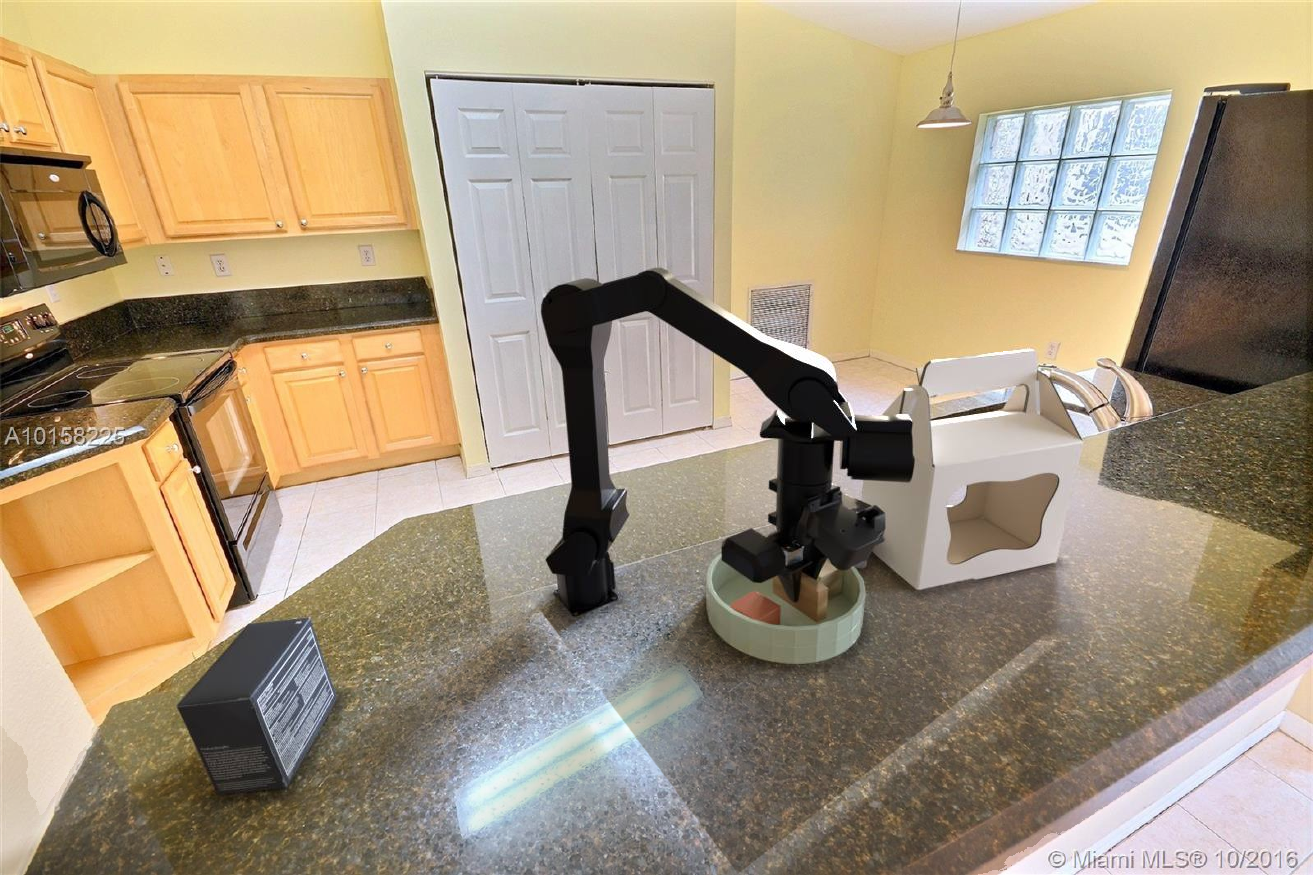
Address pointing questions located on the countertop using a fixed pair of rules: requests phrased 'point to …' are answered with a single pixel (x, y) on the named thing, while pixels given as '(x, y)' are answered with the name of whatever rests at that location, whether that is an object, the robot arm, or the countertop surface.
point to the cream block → (831, 579)
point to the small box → (260, 706)
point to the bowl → (783, 619)
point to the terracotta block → (758, 608)
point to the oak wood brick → (806, 597)
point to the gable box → (979, 475)
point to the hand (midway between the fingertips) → (798, 597)
